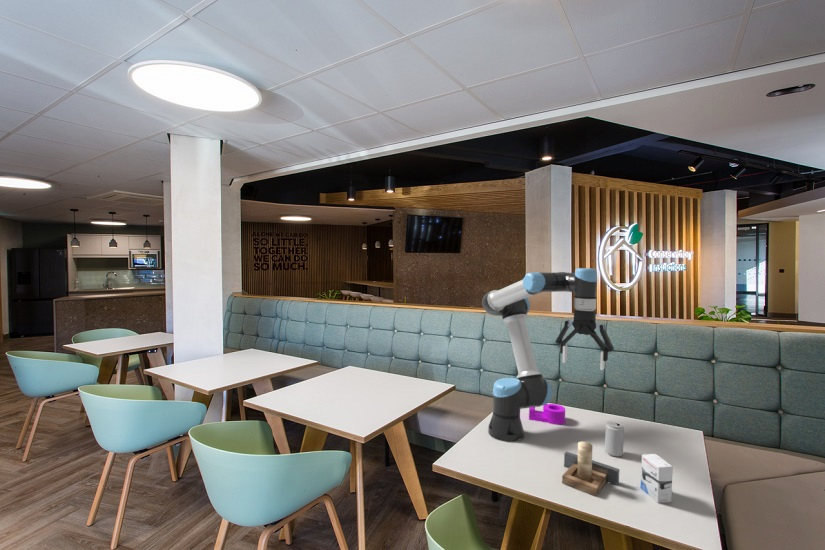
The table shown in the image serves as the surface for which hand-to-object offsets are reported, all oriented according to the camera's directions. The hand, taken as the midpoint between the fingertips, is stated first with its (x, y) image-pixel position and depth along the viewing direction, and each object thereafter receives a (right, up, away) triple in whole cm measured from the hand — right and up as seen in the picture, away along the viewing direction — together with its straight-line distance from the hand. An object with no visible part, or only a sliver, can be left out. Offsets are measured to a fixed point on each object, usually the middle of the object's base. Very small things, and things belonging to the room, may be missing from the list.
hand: (582, 365), depth 146 cm
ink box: (+15, -38, -19) cm, 45 cm away
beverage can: (+16, -37, +8) cm, 41 cm away
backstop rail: (-1, -37, -8) cm, 38 cm away
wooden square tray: (-5, -37, -13) cm, 40 cm away
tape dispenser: (0, -35, +40) cm, 54 cm away
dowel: (-5, -36, -12) cm, 38 cm away
